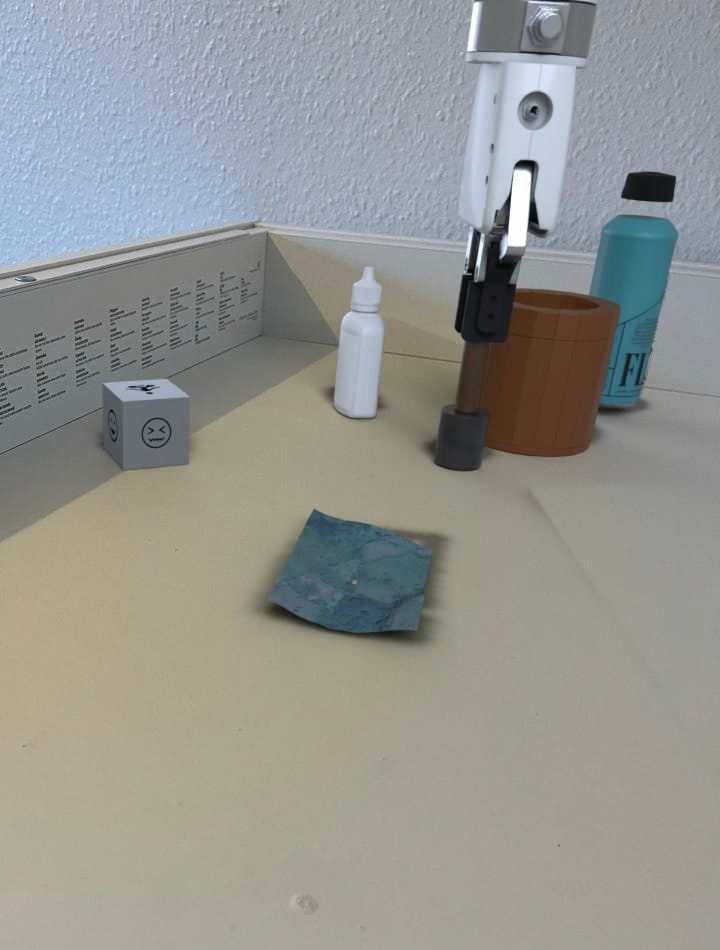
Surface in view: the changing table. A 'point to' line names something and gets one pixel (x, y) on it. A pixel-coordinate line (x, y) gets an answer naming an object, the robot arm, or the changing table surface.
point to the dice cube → (146, 423)
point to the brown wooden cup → (549, 373)
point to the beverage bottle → (634, 282)
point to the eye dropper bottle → (360, 351)
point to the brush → (465, 414)
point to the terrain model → (353, 577)
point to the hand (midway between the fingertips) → (479, 335)
